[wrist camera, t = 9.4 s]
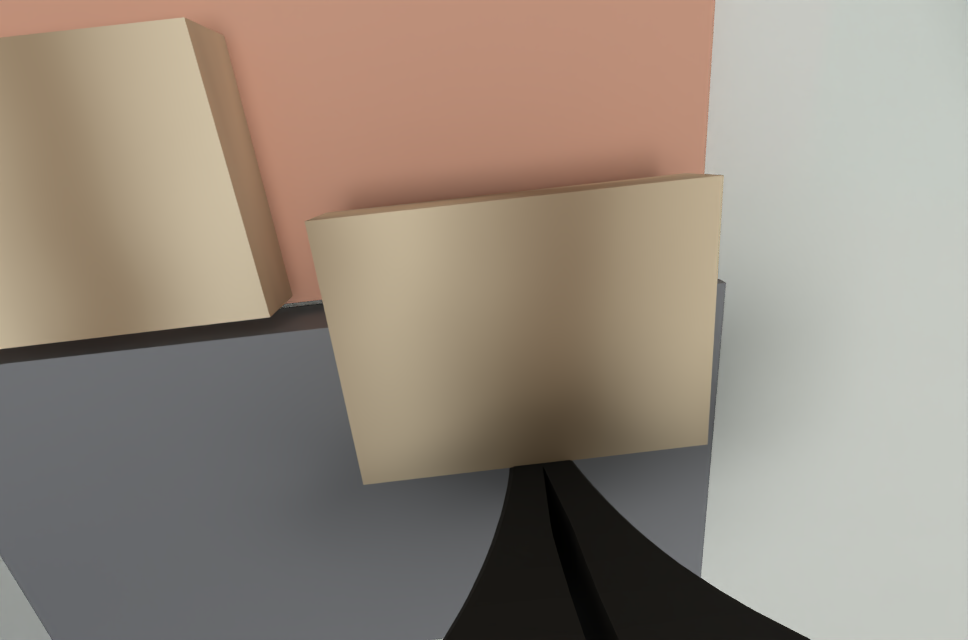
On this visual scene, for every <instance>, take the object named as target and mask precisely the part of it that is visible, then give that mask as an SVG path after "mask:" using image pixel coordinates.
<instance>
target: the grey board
mask: <svg viewBox="0 0 968 640" xmlns="http://www.w3.org/2000/svg"><path fill="white" fill-rule="evenodd" d="M725 287H726V283H725V282H723V281H721V280H719V279H717V295H716V312H715V328H714V345H713V362H712V378H711V395H710V412H709V429H708V444H707V445H699V446H690V447H682V448H673V449H665V450H656V451H648V452H639V453H631V454H622V455H613V456H605V457H596V458H588V459H579V460H572V461H573V462H574V463H575V464H576V466H577V467H578V468H579V469H580V471H581V472H582V473H583V474H584V475H585V477H586V478H587V479H588V480H589V481H590V482H591V483H592V485H593V486H594V487H595V488H596V489H597V490H598V491H599V492H600V493H601V494H602V495H603V496H604V498H605V499H606V500H607V501H608V502H609V503H610V504H611V505H612V506H613V507H614V508H615V509H616V510H617V511H618V512H619V513H620V514H621V515H622V516H623V517H624V518H626V519H627V520H628V521H629V522H630V523H631V524H632V525H633V526H634V527H635V528H636V529H637V530H639V531H640V532H641V533H642V534H643V535H644V536H645V537H647V538H648V539H649V540H650V541H651V542H653V543H654V544H655V545H656V546H658V547H659V548H660V549H661V550H663V551H664V552H665V553H666V554H668V555H669V556H670V557H672V558H673V559H674V560H676V561H677V562H678V563H680V564H681V565H683V566H684V567H686V568H687V569H689V570H690V571H691V572H693V573H694V574H696V575H697V576H699V577H700V578H701V569H702V557H703V545H704V533H705V522H706V510H707V498H708V487H709V475H710V463H711V451H712V440H713V428H714V416H715V405H716V393H717V381H718V369H719V358H720V346H721V334H722V322H723V311H724V299H725ZM509 469H510V468H503V469H494V470H486V471H477V472H469V473H460V474H452V475H443V476H435V477H426V478H418V479H409V480H401V481H392V482H384V483H375V484H367V485H363V481H362V476H361V472H360V467H359V463H358V458H357V454H356V449H355V445H354V440H353V436H352V431H351V427H350V422H349V418H348V413H347V409H346V404H345V400H344V396H343V391H342V387H341V382H340V378H339V373H338V369H337V364H336V360H335V355H334V351H333V346H332V342H331V337H330V333H329V328H328V324H327V319H326V315H325V310H324V306H323V304H318V305H309V306H300V307H291V308H282V309H278V310H277V311H276V312H275V313H274V314H273V315H272V316H271V317H268V318H260V319H251V320H243V321H234V322H226V323H217V324H209V325H200V326H192V327H183V328H175V329H166V330H158V331H149V332H141V333H132V334H124V335H115V336H107V337H98V338H90V339H81V340H73V341H65V342H56V343H48V344H39V345H31V346H22V347H14V348H5V349H0V556H1V557H2V559H3V561H4V562H5V564H6V565H7V567H8V569H9V570H10V572H11V574H12V575H13V577H14V578H15V580H16V582H17V583H18V585H19V587H20V588H21V590H22V592H23V593H24V595H25V596H26V598H27V600H28V601H29V603H30V605H31V606H32V608H33V609H34V611H35V613H36V614H37V616H38V618H39V619H40V621H41V622H42V624H43V626H44V627H45V629H46V631H47V632H48V634H49V635H50V637H51V639H52V640H435V639H443V638H444V637H445V635H446V634H447V632H448V630H449V628H450V627H451V625H452V623H453V622H454V620H455V618H456V617H457V615H458V613H459V612H460V610H461V608H462V606H463V604H464V603H465V601H466V599H467V597H468V595H469V593H470V591H471V589H472V587H473V585H474V583H475V580H476V578H477V576H478V574H479V572H480V570H481V568H482V565H483V563H484V560H485V558H486V556H487V553H488V551H489V548H490V545H491V543H492V540H493V537H494V534H495V531H496V528H497V524H498V521H499V518H500V515H501V511H502V508H503V503H504V499H505V494H506V490H507V485H508V478H509Z"/></svg>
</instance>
